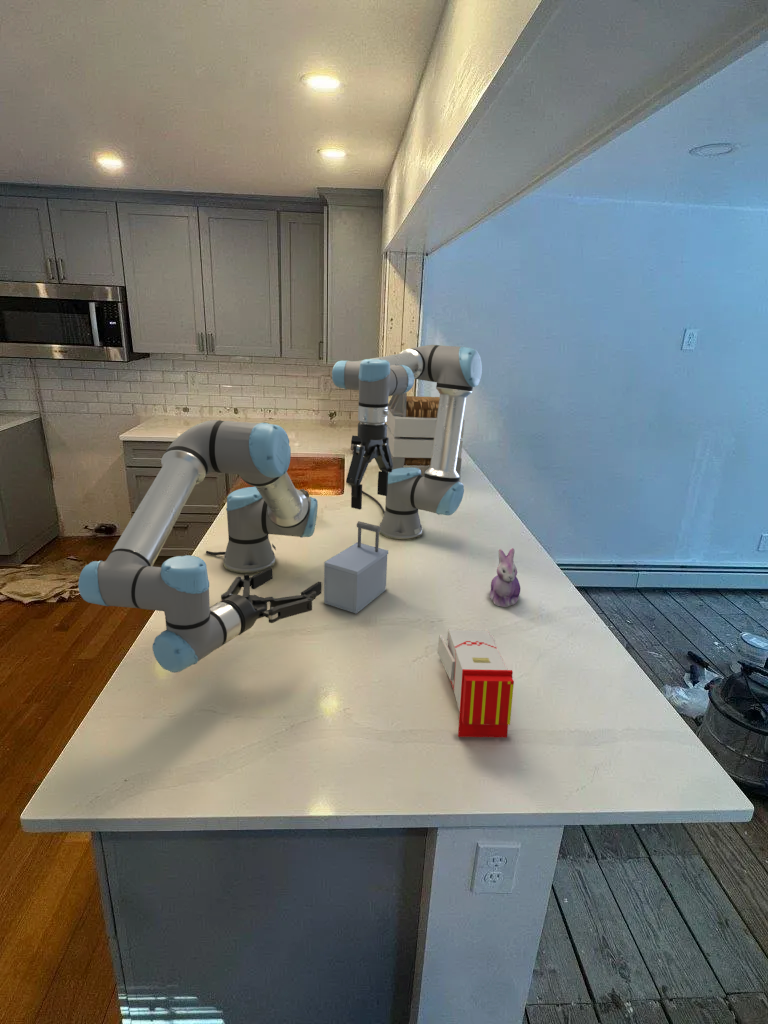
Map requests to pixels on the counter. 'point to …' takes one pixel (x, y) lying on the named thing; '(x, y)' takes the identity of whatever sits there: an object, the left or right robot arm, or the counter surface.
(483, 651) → the toy
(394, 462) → the white slatted crate
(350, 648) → the counter surface
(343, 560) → the lid
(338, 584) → the chest
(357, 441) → the figurine character
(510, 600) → the figurine
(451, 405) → the right robot arm
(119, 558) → the left robot arm
